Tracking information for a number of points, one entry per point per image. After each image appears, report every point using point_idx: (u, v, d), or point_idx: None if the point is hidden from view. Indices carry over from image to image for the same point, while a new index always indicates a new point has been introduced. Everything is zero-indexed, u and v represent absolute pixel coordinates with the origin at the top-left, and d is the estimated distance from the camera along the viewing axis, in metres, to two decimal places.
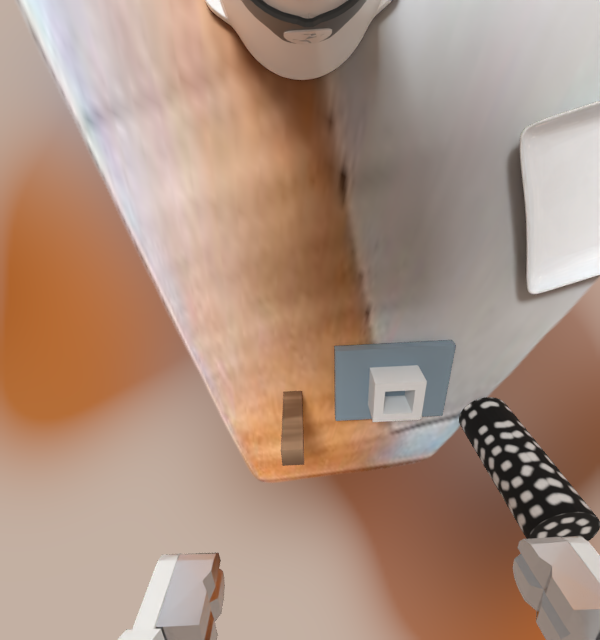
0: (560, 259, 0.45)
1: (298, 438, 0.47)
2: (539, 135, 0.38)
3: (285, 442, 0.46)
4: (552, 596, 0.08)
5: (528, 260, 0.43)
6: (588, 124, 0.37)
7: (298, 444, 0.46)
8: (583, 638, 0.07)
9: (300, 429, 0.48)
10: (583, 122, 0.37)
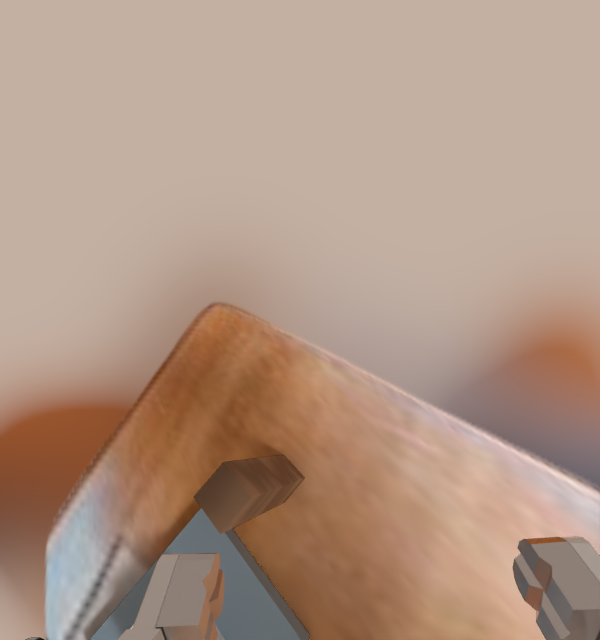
0: None
1: (240, 520, 0.23)
2: None
3: (254, 501, 0.23)
4: (552, 596, 0.08)
5: None
6: None
7: (233, 523, 0.22)
8: (583, 638, 0.07)
9: (248, 517, 0.25)
10: None
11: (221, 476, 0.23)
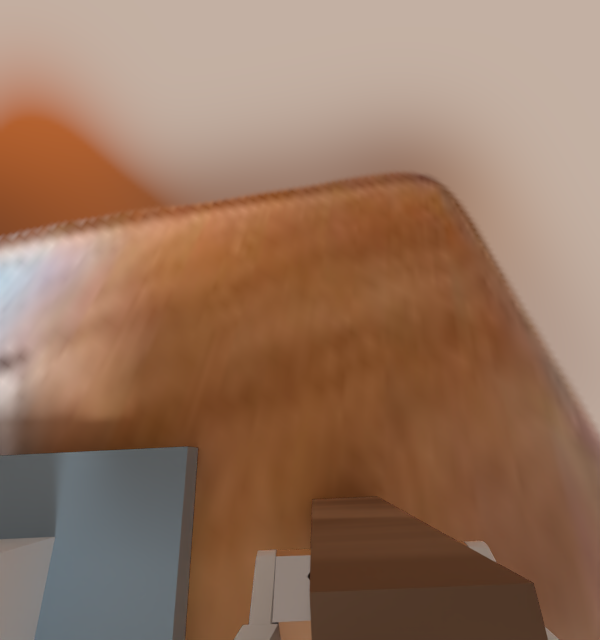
0: None
1: None
2: None
3: None
4: None
5: None
6: None
7: None
8: None
9: None
10: None
11: (493, 639, 0.04)
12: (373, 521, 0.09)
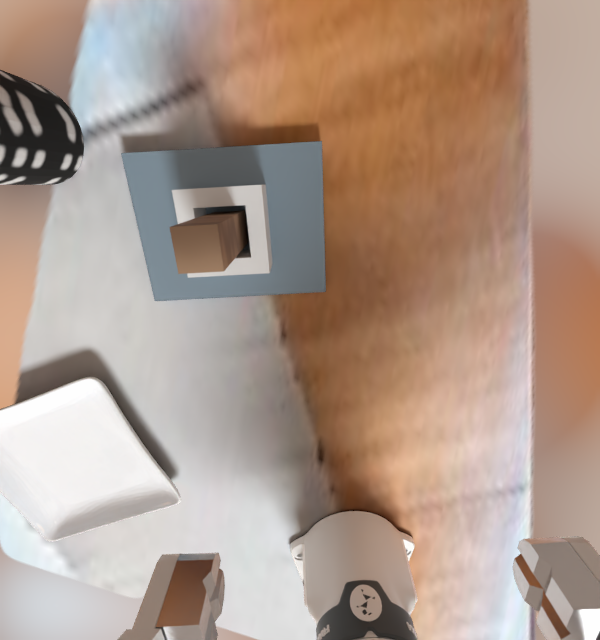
0: (79, 400, 0.41)
1: None
2: (162, 490, 0.46)
3: None
4: (552, 596, 0.08)
5: (118, 413, 0.39)
6: (126, 495, 0.47)
7: None
8: (583, 638, 0.07)
9: None
10: (131, 498, 0.46)
11: (207, 234, 0.21)
12: (216, 217, 0.26)
